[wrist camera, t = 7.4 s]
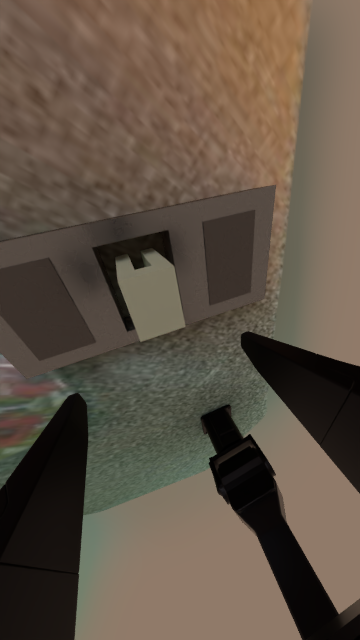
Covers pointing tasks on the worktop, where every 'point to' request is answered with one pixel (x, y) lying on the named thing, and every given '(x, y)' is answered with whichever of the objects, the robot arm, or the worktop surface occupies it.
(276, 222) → the worktop surface
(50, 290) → the grey slotted tray
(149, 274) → the beige slotted block
